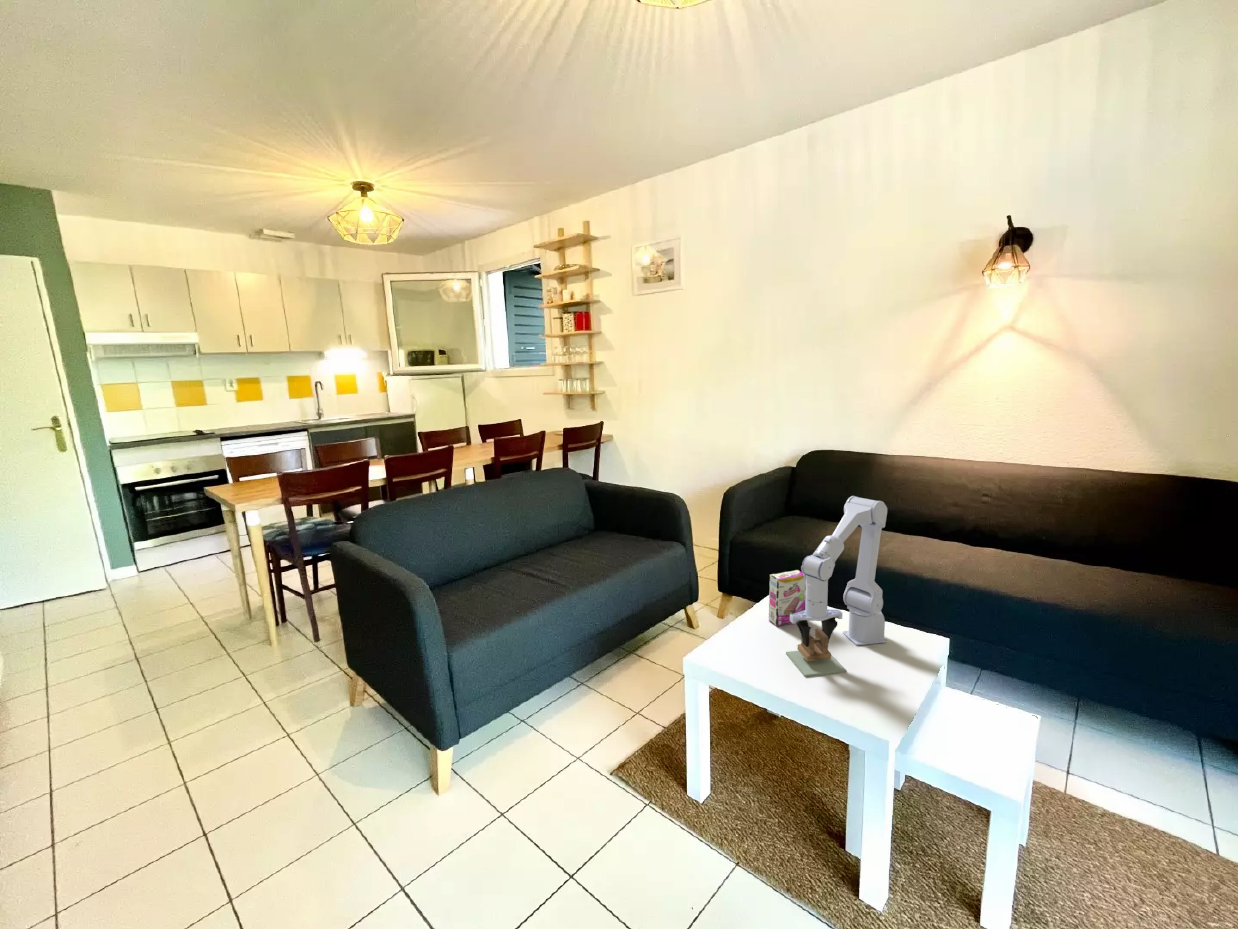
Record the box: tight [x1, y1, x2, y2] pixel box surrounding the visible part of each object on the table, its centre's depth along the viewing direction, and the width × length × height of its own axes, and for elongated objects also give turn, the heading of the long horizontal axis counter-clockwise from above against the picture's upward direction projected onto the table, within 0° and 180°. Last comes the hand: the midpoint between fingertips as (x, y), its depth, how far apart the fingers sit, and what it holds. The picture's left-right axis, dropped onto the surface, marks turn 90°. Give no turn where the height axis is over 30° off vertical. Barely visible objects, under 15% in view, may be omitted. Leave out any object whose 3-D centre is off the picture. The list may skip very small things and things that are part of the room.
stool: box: [796, 627, 832, 661], centre depth 148 cm, size 7×6×6 cm
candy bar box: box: [768, 569, 806, 627], centre depth 172 cm, size 11×5×16 cm, turn 108°
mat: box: [785, 650, 848, 678], centre depth 149 cm, size 12×12×1 cm
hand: (815, 643), depth 148 cm, fingers closed on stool, 5 cm apart
